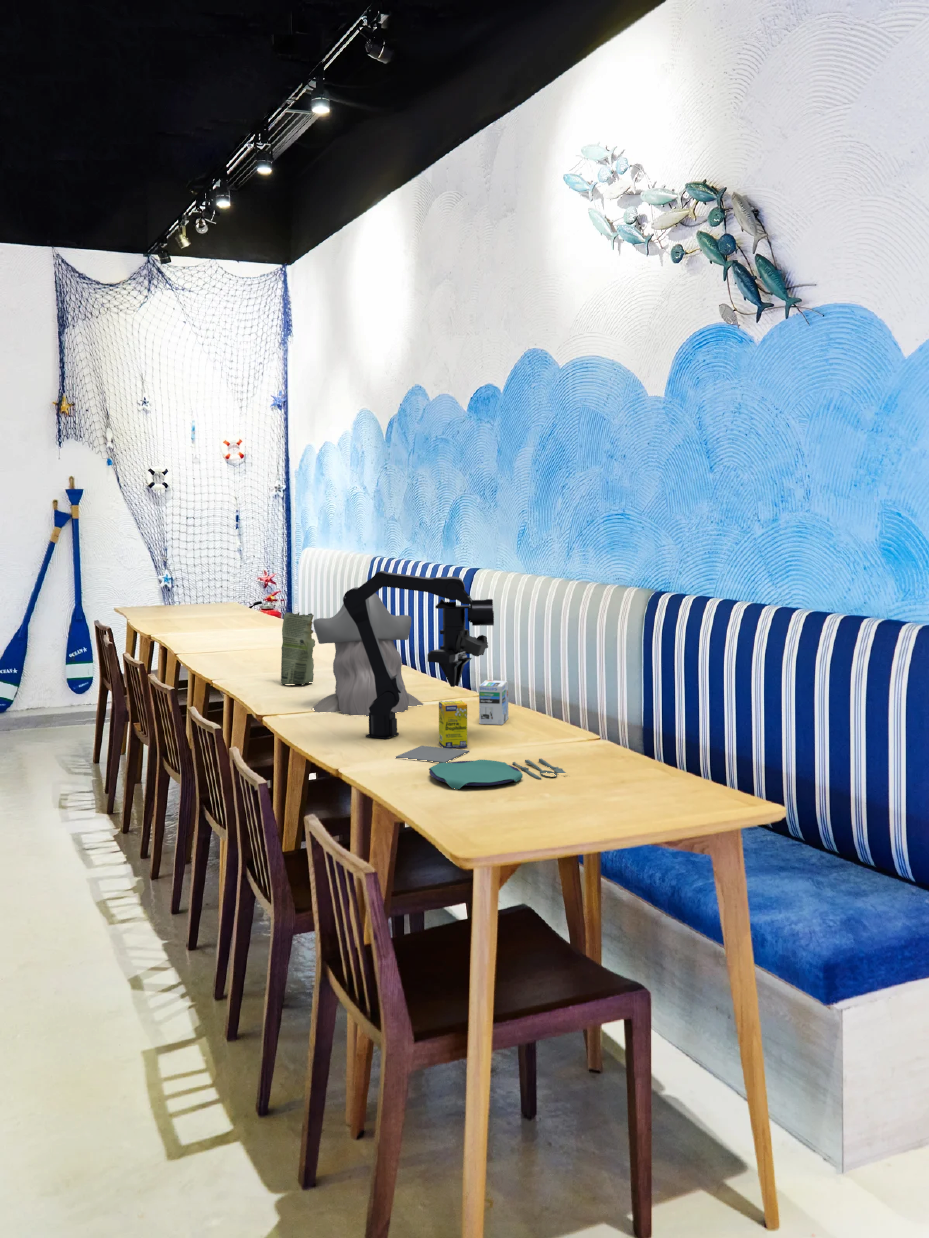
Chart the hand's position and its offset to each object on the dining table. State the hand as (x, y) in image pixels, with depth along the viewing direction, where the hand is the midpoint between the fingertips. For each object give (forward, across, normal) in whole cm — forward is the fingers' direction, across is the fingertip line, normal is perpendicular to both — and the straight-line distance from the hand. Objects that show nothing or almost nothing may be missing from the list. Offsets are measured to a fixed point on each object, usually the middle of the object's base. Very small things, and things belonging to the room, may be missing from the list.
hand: (454, 686), depth 264 cm
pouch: (+13, +52, +86) cm, 101 cm away
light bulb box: (+13, +22, -1) cm, 26 cm away
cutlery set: (+14, -33, -27) cm, 45 cm away
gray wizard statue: (+13, +27, +43) cm, 53 cm away
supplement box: (+13, -11, -5) cm, 18 cm away
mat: (+13, -22, -5) cm, 26 cm away
